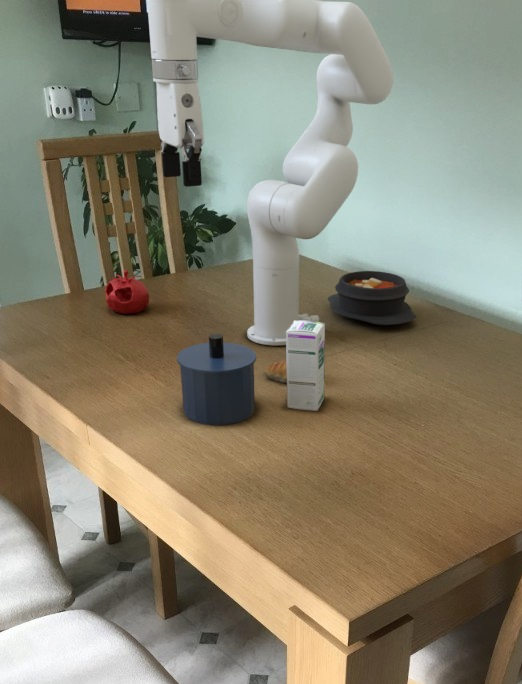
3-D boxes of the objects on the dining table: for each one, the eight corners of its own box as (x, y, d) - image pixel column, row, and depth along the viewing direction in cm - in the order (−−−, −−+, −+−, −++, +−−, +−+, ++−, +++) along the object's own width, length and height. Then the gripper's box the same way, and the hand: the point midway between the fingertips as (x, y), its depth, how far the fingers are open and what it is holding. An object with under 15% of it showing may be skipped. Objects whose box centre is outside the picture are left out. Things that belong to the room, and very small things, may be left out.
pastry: (262, 382, 154) (261, 363, 152) (271, 369, 160) (271, 351, 158) (310, 387, 153) (310, 368, 151) (318, 374, 159) (318, 356, 157)
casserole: (435, 325, 185) (438, 288, 180) (366, 338, 176) (368, 300, 172) (373, 295, 203) (375, 261, 198) (309, 306, 195) (309, 270, 190)
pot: (238, 390, 151) (236, 341, 146) (265, 417, 142) (265, 365, 136) (174, 402, 146) (170, 351, 141) (198, 430, 137) (195, 377, 132)
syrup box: (318, 411, 144) (320, 332, 136) (285, 408, 145) (285, 329, 137) (324, 398, 149) (326, 321, 141) (292, 395, 150) (293, 318, 142)
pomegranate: (129, 300, 195) (125, 261, 190) (159, 309, 190) (155, 269, 185) (97, 310, 188) (92, 270, 183) (127, 319, 183) (123, 278, 178)
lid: (238, 343, 147) (237, 318, 144) (269, 369, 137) (268, 343, 134) (166, 354, 141) (164, 329, 139) (193, 382, 131) (191, 355, 129)
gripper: (217, 75, 131) (221, 188, 140) (177, 68, 144) (183, 171, 153) (173, 76, 128) (180, 191, 137) (136, 68, 140) (145, 174, 149)
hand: (182, 181), depth 145 cm, fingers open, 9 cm apart
